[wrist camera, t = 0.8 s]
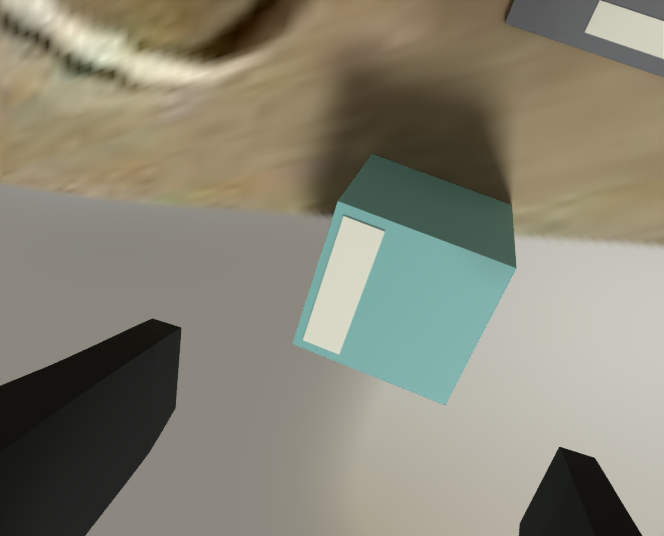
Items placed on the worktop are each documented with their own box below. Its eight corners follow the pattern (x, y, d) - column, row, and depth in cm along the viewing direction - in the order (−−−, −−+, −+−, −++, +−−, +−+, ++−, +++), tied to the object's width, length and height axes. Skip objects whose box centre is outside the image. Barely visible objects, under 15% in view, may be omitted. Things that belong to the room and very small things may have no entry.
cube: (511, 204, 18) (516, 269, 14) (455, 321, 20) (444, 407, 16) (372, 153, 18) (337, 201, 14) (332, 273, 21) (291, 345, 17)
